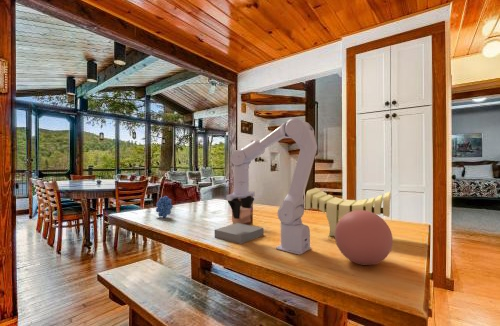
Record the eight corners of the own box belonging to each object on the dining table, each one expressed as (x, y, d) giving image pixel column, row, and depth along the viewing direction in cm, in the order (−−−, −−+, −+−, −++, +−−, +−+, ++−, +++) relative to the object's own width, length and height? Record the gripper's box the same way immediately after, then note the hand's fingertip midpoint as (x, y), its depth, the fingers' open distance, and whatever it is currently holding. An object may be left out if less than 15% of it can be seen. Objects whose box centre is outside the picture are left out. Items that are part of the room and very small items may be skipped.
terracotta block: (250, 221, 98) (250, 208, 98) (241, 223, 94) (241, 210, 94) (240, 219, 101) (240, 207, 101) (232, 221, 97) (232, 208, 97)
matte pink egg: (386, 252, 83) (385, 205, 83) (397, 278, 64) (397, 217, 64) (336, 246, 88) (336, 202, 88) (333, 269, 70) (333, 214, 70)
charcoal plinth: (263, 235, 103) (263, 227, 103) (240, 244, 92) (240, 235, 92) (238, 229, 112) (237, 222, 112) (214, 237, 101) (214, 229, 101)
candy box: (237, 227, 115) (237, 194, 115) (232, 226, 119) (232, 193, 119) (253, 225, 120) (253, 192, 120) (248, 223, 124) (248, 192, 124)
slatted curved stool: (305, 234, 103) (305, 191, 103) (316, 226, 117) (316, 187, 117) (389, 246, 88) (389, 195, 88) (390, 235, 102) (390, 190, 102)
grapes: (178, 217, 140) (177, 195, 140) (169, 219, 134) (168, 196, 133) (162, 215, 145) (162, 194, 145) (153, 217, 139) (152, 195, 139)
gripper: (245, 180, 106) (245, 212, 106) (220, 182, 94) (220, 218, 94) (258, 181, 101) (258, 214, 101) (234, 183, 90) (234, 221, 90)
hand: (241, 217), depth 98 cm, fingers closed on terracotta block, 5 cm apart
